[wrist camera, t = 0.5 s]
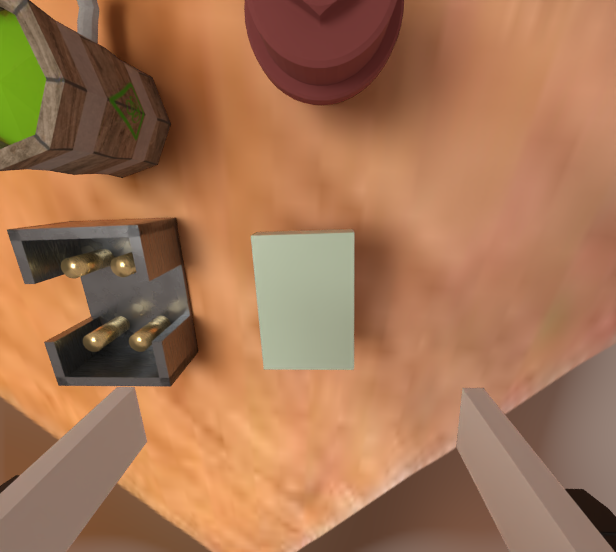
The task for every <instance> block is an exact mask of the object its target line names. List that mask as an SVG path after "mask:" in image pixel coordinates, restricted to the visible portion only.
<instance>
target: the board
mask: <svg viewBox="0 0 616 552" xmlns="http://www.w3.org/2000/svg"><path fill="white" fill-rule="evenodd" d="M251 244H252V254H253V264H254V274H255V284H256V295H257V305H258V315H259V325H260V335H261V346H262V356H263V366H264V369H293V370H354V231H353V229H334V230H304V231H274V232H256V233H254V234H253V235H251Z"/></svg>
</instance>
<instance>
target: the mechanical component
mask: <svg viewBox="0 0 616 552" xmlns="http://www.w3.org/2000/svg"><path fill="white" fill-rule="evenodd" d="M244 10H245V23H246V29H247V34H248V38H249V41H250V44H251V47H252V50H253V52H254V54H255V56H256V58H257V60H258V62H259V64H260V66H261V67H262V69H263V71H264V72H265V74H266V75H267V77H268V78H269V79H270V80H271V82H272V83H273V84H274V85H275V86H276V87H277V88H278V89H280V90H281V91H282V92H283V93H285V94H286V95H288V96H290V97H291V98H293V99H295V100H298V101H300V102H303V103H307V104H312V105H329V104H335V103H339V102H342V101H345V100H347V99H349V98H351V97H353V96H355V95H356V94H358V93H360V92H361V91H362V90H364V89H365V88H366V87H367V86H368V85H369V84H371V82H372V81H373V80H374V79H375V78H376V77H377V76H378V74H379V73H380V71H381V70H382V69H383V67H384V66H385V64H386V62H387V60H388V58H389V56H390V54H391V52H392V50H393V47H394V45H395V43H396V40H397V38H398V34H399V31H400V27H401V23H402V17H403V10H404V0H245V9H244Z"/></svg>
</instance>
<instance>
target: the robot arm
mask: <svg viewBox="0 0 616 552" xmlns="http://www.w3.org/2000/svg"><path fill="white" fill-rule="evenodd" d="M146 442H147V439H146V435H145V430H144V426H143V422H142V417H141V413H140V409H139V404H138V400H137V396H136V392H135V387H117V388H116V389H115V390H114V391H112V392H111V393H110V394H109V395H108V396H107V397H106V398H105V399H104V400H103V401H101V402H100V403H99V404H98V405H97V406H96V407H95V408H94V409H93V410H92V411H90V412H89V413H88V414H87V415H86V416H85V417H84V418H83V419H82V420H81V421H79V422H78V423H77V424H76V425H75V426H74V427H73V428H72V429H71V430H70V431H68V432H67V433H66V434H65V435H64V436H63V437H62V438H61V439H60V440H59V441H57V442H56V443H55V444H54V445H53V446H52V447H51V448H50V449H49V450H48V451H47V452H45V453H44V454H43V455H42V456H41V457H40V458H39V459H38V460H37V461H36V462H34V463H33V464H32V465H31V466H30V467H29V468H28V469H27V470H26V471H25V472H23V473H22V474H21V475H16V476H14V477H13V478H11V479H10V480H8V481H7V482H5V483H4V484H2V485H1V486H0V552H66V551H67V550H68V549H69V547H70V546H71V544H72V543H73V542H74V540H75V539H76V537H77V536H78V535H79V534H80V532H81V531H82V530H83V528H84V527H85V525H86V524H87V523H88V521H89V520H90V519H91V517H92V516H93V514H94V513H95V512H96V510H97V509H98V508H99V506H100V505H101V504H102V502H103V501H104V500H105V498H106V497H107V495H108V494H109V493H110V491H111V490H112V489H113V487H114V486H115V485H116V483H117V482H118V481H119V479H120V478H121V476H122V475H123V474H124V472H125V471H126V470H127V468H128V467H129V466H130V464H131V463H132V461H133V460H134V459H135V457H136V456H137V455H138V453H139V452H140V451H141V449H142V448H143V447H144V445H145V444H146ZM456 447H457V449H458V451H459V453H460V455H461V457H462V459H463V461H464V463H465V465H466V467H467V469H468V471H469V473H470V475H471V477H472V479H473V481H474V483H475V485H476V487H477V489H478V490H479V492H480V494H481V496H482V498H483V500H484V502H485V504H486V506H487V508H488V510H489V512H490V514H491V516H492V518H493V520H494V522H495V524H496V526H497V528H498V530H499V532H500V534H501V535H502V537H503V540H504V542H505V543H506V546H507V548H508V550H509V551H510V552H616V516H615V515H614V514H613V513H612V512H611V511H610V510H609V509H608V508H607V507H606V506H604V505H603V504H602V503H600V502H599V501H598V500H596V499H595V498H594V497H593V496H591V495H590V494H589V493H587V492H586V491H585V490H583V489H564V488H563V486H562V485H561V484H560V483H559V481H558V480H557V479H556V478H555V477H554V475H553V474H552V473H551V472H550V470H549V469H548V468H547V467H546V465H545V464H544V463H543V462H542V460H541V459H540V458H539V457H538V455H537V454H536V453H535V452H534V450H533V449H532V448H531V447H530V445H529V444H528V443H527V442H526V440H525V439H524V438H523V437H522V436H521V434H520V433H519V432H518V431H517V429H516V428H515V427H514V425H513V424H512V423H511V422H510V421H509V419H508V418H507V417H506V415H505V414H504V413H503V412H502V411H501V409H500V408H499V407H498V406H497V404H496V403H495V402H494V401H493V399H492V398H491V397H490V396H489V394H488V393H487V392H486V391H485V389H484V388H462V397H461V406H460V416H459V425H458V435H457V444H456Z"/></svg>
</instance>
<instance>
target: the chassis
mask: <svg viewBox="0 0 616 552" xmlns="http://www.w3.org/2000/svg"><path fill="white" fill-rule="evenodd" d="M7 232H8V235H9V238H10V241H11V244H12V247H13V250H14V253H15V256H16V259H17V262H18V265H19V268H20V271H21V274H22V277H23V280H24V283H25V284H36V283H39V282H42V281H45V280H48V279H51V278H54V277H57V276H60V275H63V274H65V275H66V276H67V277H69V278H78V277H81V281H82V284H83V288H84V292H85V295H86V299H87V303H88V306H89V310H90V314H91V317H90V318H88V319H86V320H84V321H82V322H80V323H78V324H77V325H75V326H73V327H71V328H69V329H67V330H66V331H64V332H62V333H60V334H58V335H56V336H55V337H53V338H51V339H49V340H47V341H45V342H44V343H45V346H46V349H47V352H48V355H49V358H50V361H51V364H52V367H53V370H54V373H55V376H56V379H57V382H58V385H59V386H171V385H172V384H173V383H174V382H175V380H176V379H177V378H178V377H179V375H180V374H181V373H182V372H183V370H184V369H185V368H186V367H187V365H188V364H189V363H190V362H191V360H192V359H193V358H194V356H195V355H196V354H197V353H198V347H197V341H196V335H195V329H194V323H193V317H192V311H191V305H190V299H189V293H188V287H187V281H186V275H185V269H184V263H183V257H182V251H181V245H180V239H179V233H178V227H177V222H176V217H175V218H148V219H122V220H96V221H69V222H62V223H54V224H46V225H39V226H31V227H24V228H16V229H8V230H7Z"/></svg>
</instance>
